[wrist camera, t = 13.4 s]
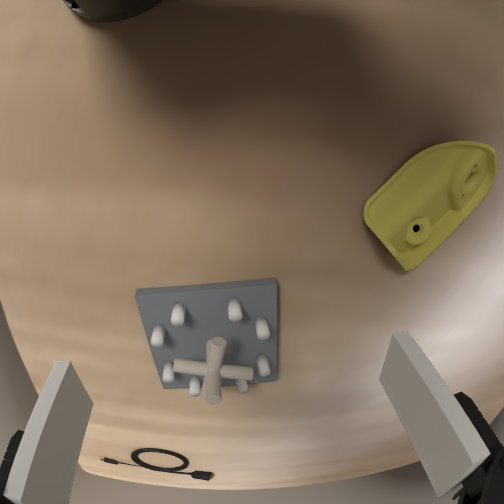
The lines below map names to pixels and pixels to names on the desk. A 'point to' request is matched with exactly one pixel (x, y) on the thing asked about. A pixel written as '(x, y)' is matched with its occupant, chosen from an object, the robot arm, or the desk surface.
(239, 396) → the desk surface
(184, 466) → the cable
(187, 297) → the grey peg board
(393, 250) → the plastic component
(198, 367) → the pipe connector
